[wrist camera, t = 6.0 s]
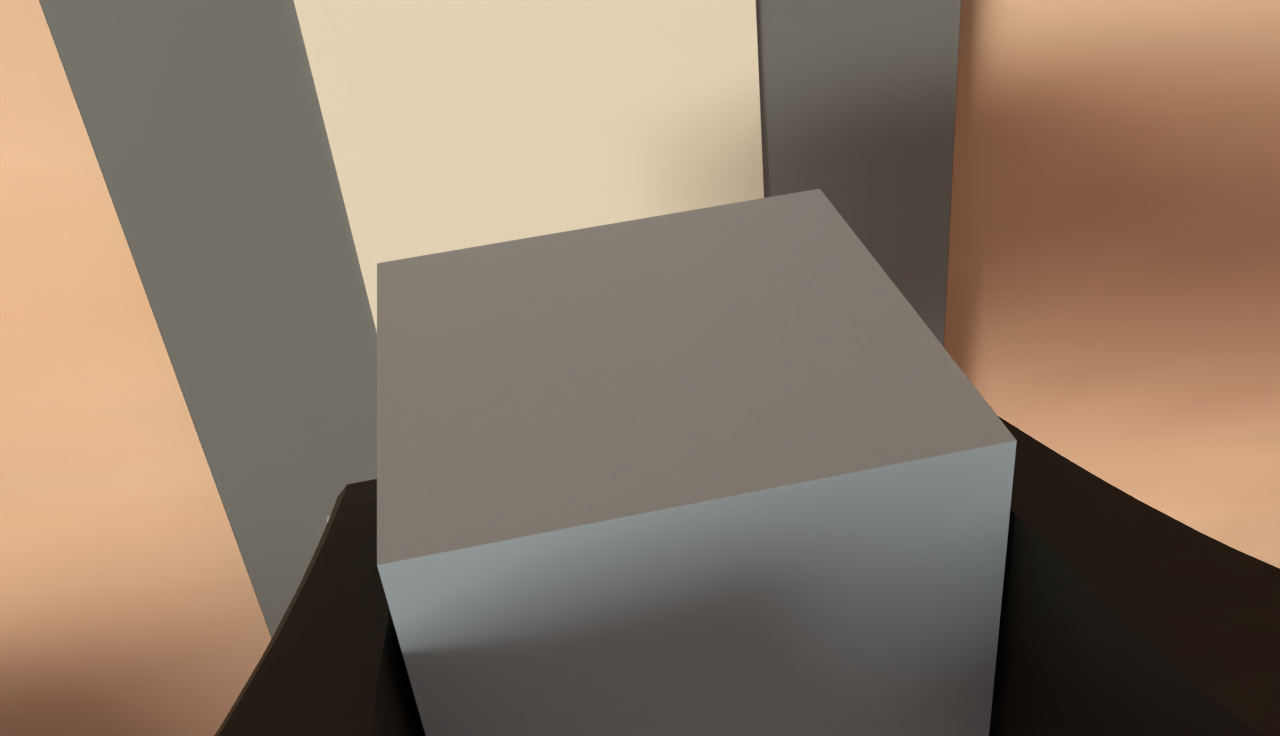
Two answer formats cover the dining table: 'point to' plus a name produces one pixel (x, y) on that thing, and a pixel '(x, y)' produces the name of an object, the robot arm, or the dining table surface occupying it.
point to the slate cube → (685, 486)
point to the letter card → (462, 177)
